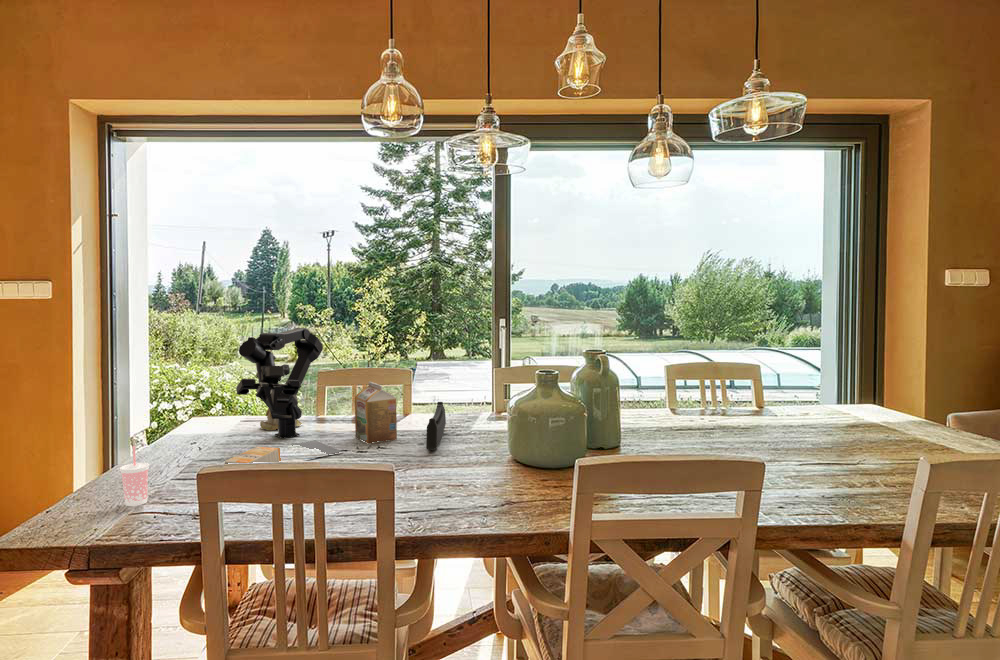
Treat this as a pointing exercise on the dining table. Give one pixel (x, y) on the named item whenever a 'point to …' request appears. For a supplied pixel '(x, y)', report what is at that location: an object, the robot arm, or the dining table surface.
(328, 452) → the rubber mat
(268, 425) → the ceramic model
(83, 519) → the dining table surface
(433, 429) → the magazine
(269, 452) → the supplement box
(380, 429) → the milk carton
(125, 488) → the beverage cup
